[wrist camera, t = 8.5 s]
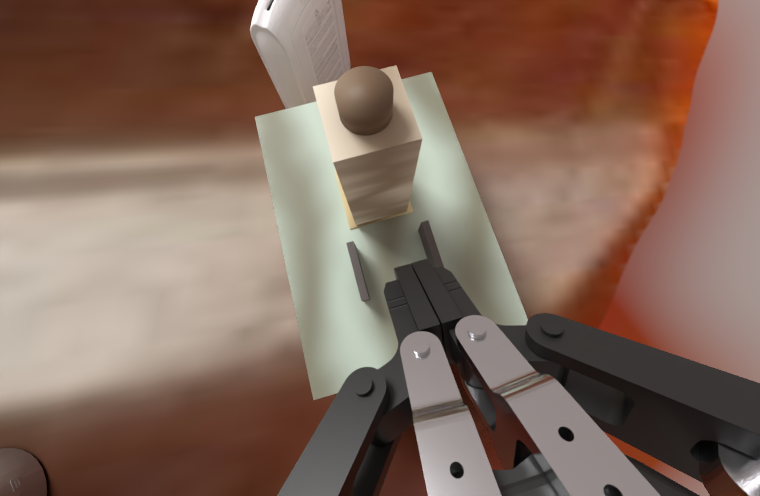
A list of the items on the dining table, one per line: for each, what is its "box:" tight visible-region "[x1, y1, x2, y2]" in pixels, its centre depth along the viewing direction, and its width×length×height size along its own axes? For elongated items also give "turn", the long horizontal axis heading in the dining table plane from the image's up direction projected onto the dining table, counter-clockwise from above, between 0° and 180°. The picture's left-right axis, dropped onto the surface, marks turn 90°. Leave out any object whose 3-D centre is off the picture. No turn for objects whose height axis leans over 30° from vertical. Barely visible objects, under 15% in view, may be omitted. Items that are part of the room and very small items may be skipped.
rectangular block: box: [255, 72, 528, 400], centre depth 24 cm, size 16×23×10 cm
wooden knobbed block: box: [313, 66, 422, 225], centre depth 16 cm, size 4×4×10 cm
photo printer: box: [250, 0, 350, 109], centre depth 27 cm, size 10×4×12 cm, turn 154°
